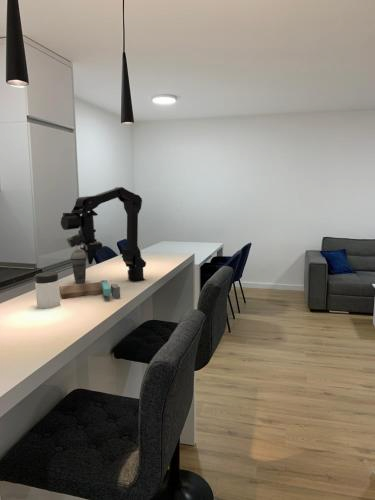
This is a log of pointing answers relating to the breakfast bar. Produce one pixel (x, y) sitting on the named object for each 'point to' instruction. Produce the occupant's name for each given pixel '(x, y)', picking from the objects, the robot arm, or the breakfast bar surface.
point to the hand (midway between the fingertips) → (90, 264)
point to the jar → (47, 290)
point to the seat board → (80, 290)
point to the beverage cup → (79, 265)
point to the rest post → (115, 291)
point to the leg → (105, 287)
